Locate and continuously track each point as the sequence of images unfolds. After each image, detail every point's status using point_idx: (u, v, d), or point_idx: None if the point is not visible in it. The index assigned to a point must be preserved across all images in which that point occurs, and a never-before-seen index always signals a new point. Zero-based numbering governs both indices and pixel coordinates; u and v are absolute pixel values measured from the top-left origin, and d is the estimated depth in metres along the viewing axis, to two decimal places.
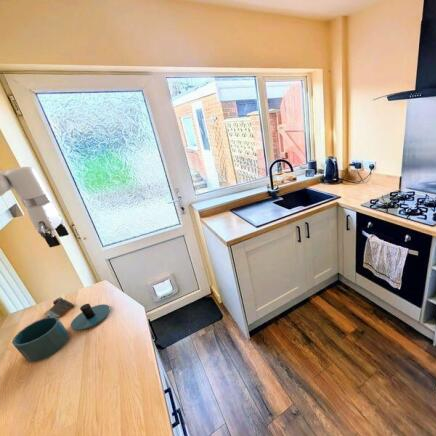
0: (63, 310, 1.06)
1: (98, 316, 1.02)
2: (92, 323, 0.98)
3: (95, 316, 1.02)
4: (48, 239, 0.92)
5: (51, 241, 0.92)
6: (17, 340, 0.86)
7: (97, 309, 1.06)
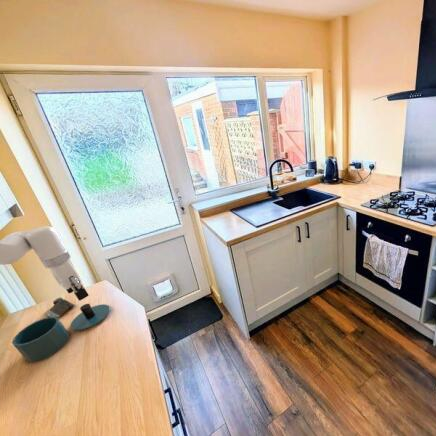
0: (63, 309, 1.06)
1: (98, 316, 1.02)
2: (92, 323, 0.98)
3: (95, 316, 1.02)
4: (79, 292, 0.93)
5: (82, 293, 0.94)
6: (17, 340, 0.86)
7: (97, 309, 1.06)
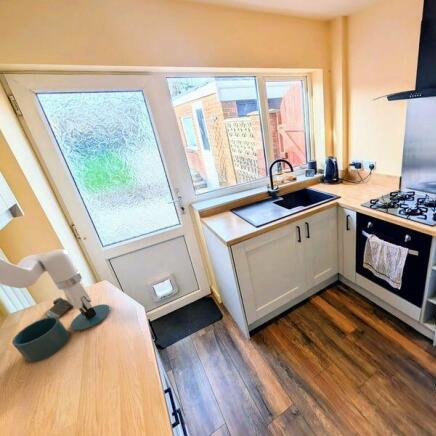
0: (63, 309, 1.06)
1: (98, 316, 1.02)
2: (92, 323, 0.98)
3: (95, 316, 1.02)
4: (88, 311, 0.99)
5: (90, 312, 0.99)
6: (17, 340, 0.86)
7: (97, 309, 1.06)
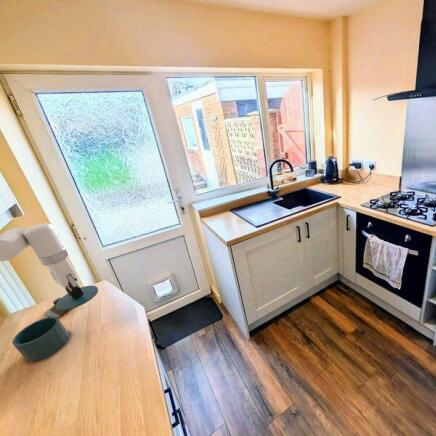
0: (63, 310, 1.06)
1: (85, 296, 0.97)
2: (78, 303, 0.94)
3: (82, 296, 0.97)
4: (74, 291, 0.94)
5: (77, 292, 0.95)
6: (17, 340, 0.86)
7: (85, 290, 1.01)
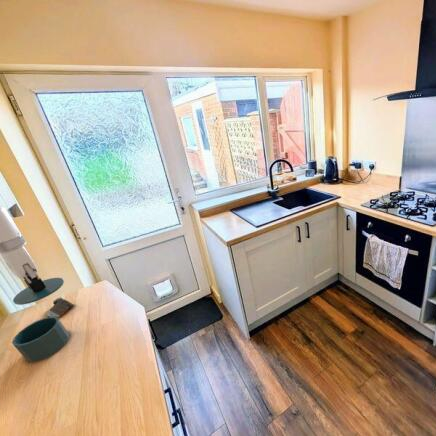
0: (63, 309, 1.06)
1: (48, 289, 0.87)
2: (39, 296, 0.84)
3: (44, 289, 0.87)
4: (34, 283, 0.84)
5: (37, 284, 0.85)
6: (17, 340, 0.86)
7: (49, 282, 0.91)
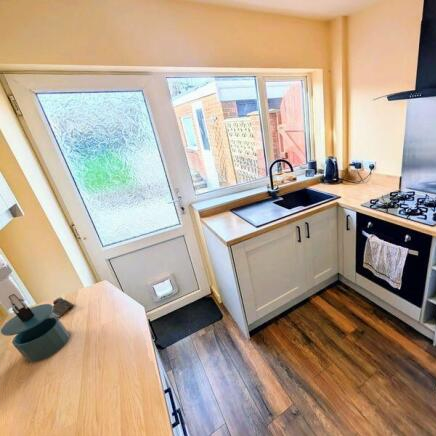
0: (63, 309, 1.06)
1: (36, 318, 0.85)
2: (27, 326, 0.82)
3: (33, 318, 0.85)
4: (22, 312, 0.82)
5: (25, 314, 0.83)
6: (17, 340, 0.86)
7: (38, 310, 0.89)
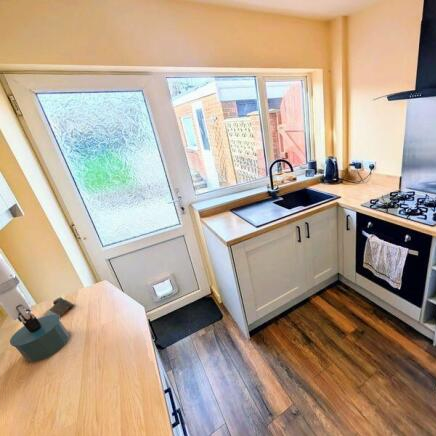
0: (63, 309, 1.06)
1: (44, 329, 0.87)
2: (35, 337, 0.84)
3: (41, 329, 0.87)
4: (29, 322, 0.82)
5: (32, 324, 0.83)
6: None
7: (45, 320, 0.91)
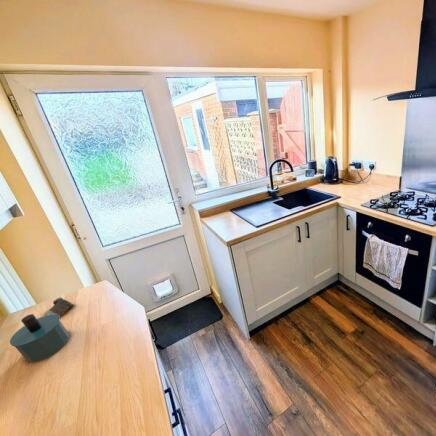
0: (63, 309, 1.06)
1: (44, 329, 0.87)
2: (35, 337, 0.84)
3: (41, 329, 0.87)
4: None
5: None
6: None
7: (45, 320, 0.91)
